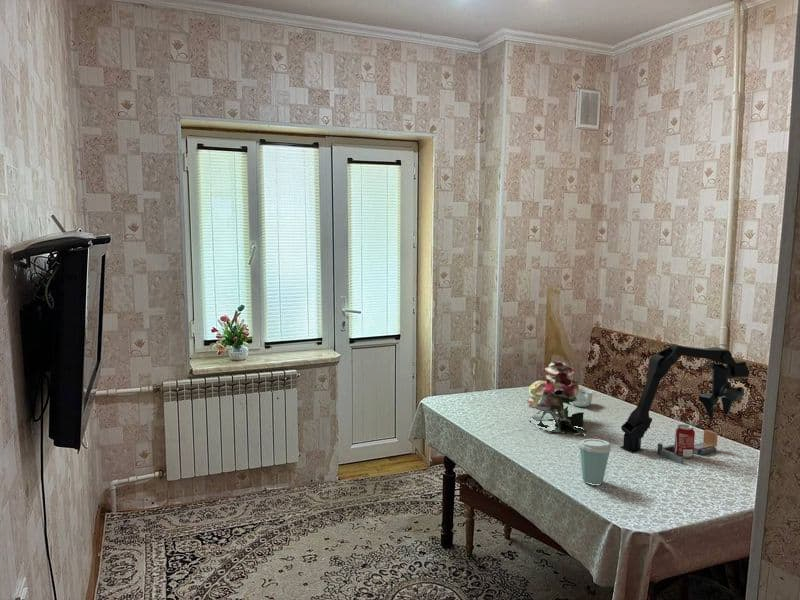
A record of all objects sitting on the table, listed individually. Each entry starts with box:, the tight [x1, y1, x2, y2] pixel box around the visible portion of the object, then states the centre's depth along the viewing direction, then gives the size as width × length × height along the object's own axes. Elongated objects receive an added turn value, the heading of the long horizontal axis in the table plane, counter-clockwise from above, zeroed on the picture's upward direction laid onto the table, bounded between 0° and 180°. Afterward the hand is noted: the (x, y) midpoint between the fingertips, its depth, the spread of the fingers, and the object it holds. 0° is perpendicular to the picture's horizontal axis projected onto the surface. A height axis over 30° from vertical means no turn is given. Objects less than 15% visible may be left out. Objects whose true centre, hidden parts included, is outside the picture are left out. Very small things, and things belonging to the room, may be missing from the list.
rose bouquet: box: [526, 360, 587, 437], centre depth 263 cm, size 26×29×30 cm
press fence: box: [657, 443, 684, 464], centre depth 228 cm, size 12×11×4 cm
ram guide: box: [694, 442, 717, 456], centre depth 233 cm, size 8×6×2 cm
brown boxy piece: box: [694, 429, 719, 455], centre depth 233 cm, size 10×5×7 cm, turn 116°
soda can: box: [673, 423, 696, 459], centre depth 228 cm, size 7×7×12 cm
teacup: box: [571, 387, 594, 408], centre depth 293 cm, size 14×11×8 cm
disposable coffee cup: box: [579, 438, 612, 484], centre depth 203 cm, size 11×11×15 cm
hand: (718, 416), depth 236 cm, fingers open, 9 cm apart
